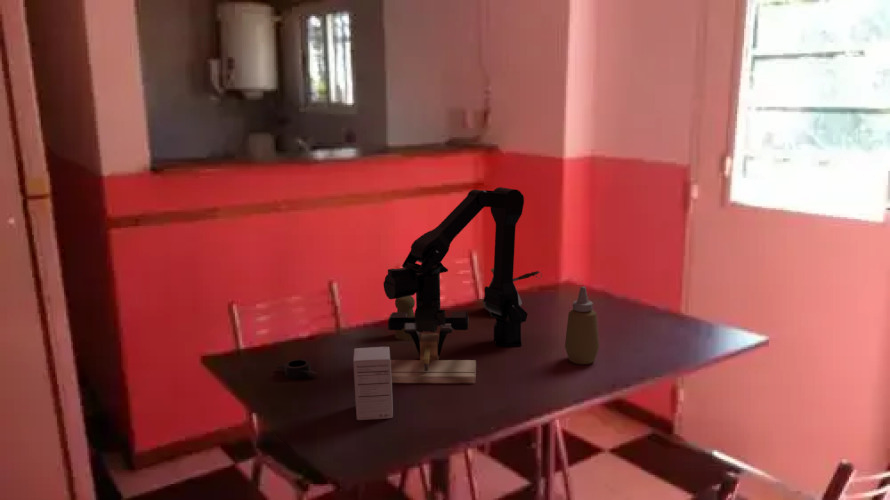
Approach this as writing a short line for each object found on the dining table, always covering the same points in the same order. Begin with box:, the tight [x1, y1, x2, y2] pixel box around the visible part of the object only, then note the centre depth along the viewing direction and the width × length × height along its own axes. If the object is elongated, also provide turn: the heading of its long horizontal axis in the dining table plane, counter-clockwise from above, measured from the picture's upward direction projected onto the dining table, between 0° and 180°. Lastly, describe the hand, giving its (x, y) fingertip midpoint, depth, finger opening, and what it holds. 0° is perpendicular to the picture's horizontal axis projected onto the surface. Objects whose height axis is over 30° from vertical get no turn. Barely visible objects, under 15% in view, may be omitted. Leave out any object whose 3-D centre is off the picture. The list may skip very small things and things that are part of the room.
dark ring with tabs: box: [277, 358, 319, 380], centre depth 167 cm, size 8×10×3 cm
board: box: [390, 359, 477, 384], centre depth 165 cm, size 22×10×2 cm, turn 86°
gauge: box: [419, 332, 440, 371], centre depth 168 cm, size 4×15×6 cm, turn 177°
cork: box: [394, 296, 416, 341], centre depth 191 cm, size 6×6×11 cm
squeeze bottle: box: [564, 286, 600, 365], centre depth 170 cm, size 8×8×18 cm
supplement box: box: [352, 346, 394, 421], centre depth 145 cm, size 7×7×13 cm
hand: (429, 355), depth 173 cm, fingers closed on gauge, 4 cm apart
